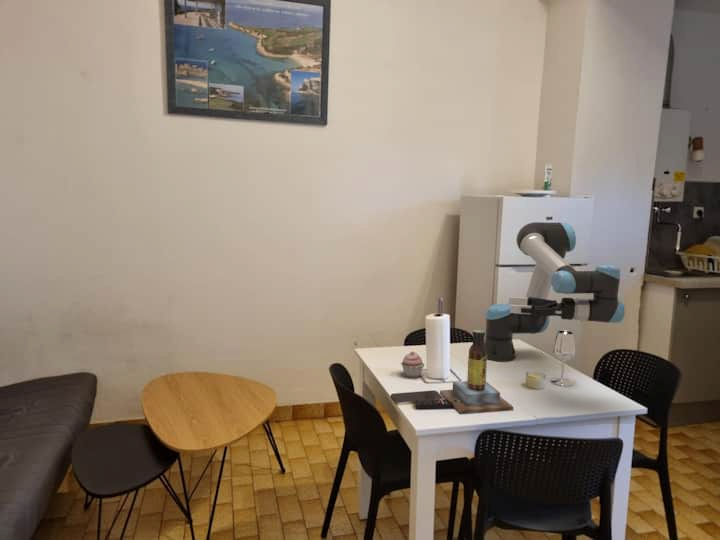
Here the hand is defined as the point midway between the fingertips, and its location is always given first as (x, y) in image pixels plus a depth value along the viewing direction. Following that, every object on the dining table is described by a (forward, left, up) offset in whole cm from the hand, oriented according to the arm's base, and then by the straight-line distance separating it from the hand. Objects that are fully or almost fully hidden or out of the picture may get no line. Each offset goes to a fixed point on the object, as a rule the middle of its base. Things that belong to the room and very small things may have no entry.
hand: (509, 304), depth 182 cm
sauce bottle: (+13, +5, -28) cm, 31 cm away
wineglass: (-28, -7, -33) cm, 44 cm away
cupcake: (+27, -24, -33) cm, 49 cm away
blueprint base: (+13, +5, -33) cm, 36 cm away
